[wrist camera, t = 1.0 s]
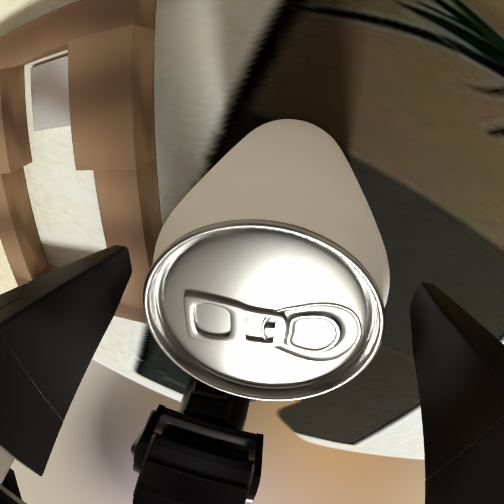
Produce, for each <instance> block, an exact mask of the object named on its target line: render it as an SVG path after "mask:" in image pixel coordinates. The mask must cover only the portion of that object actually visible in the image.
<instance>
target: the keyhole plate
mask: <svg viewBox="0 0 504 504" xmlns="http://www.w3.org/2000/svg"><path fill="white" fill-rule="evenodd" d="M155 9H156V0H80V1H77V2H75V3H72V4H69V5H67V6H64V7H62V8H60V9H57V10H55V11H53V12H50V13H48V14H46V15H44V16H41V17H39V18H37V19H35V20H33V21H31V22H29V23H27V24H25V25H23V26H21V27H19V28H18V29H16V30H14V31H12V32H10V33H8V34H7V35H5V36H3V37H1V38H0V239H1V242H2V245H3V248H4V250H5V253H6V256H7V259H8V262H9V264H10V267H11V269H12V272H13V275H14V277H15V280H16V282H17V284H18V287H19V286H21V285H23V284H25V283H26V284H27V283H28V282H30V281H32V280H34V279H36V278H38V277H41V276H43V275H45V274H47V273H50V272H52V271H54V270H56V269H59V268H56V267H51V266H48V264H47V261H46V258H45V255H44V252H43V248H42V245H41V242H40V238H39V235H38V231H37V228H36V224H35V220H34V217H33V213H32V209H31V204H30V200H29V196H28V191H27V186H26V181H25V176H24V171H23V166H25V165H27V164H29V163H31V162H32V159H31V153H30V146H29V138H28V129H27V120H26V108H25V92H24V65H26V64H28V63H31V62H33V61H36V60H39V59H41V58H44V57H47V56H50V55H52V54H55V53H58V52H61V51H65V50H68V56H65V57H62V58H59V59H56V60H53V61H50V62H47V63H44V64H41V65H38V66H35V67H33V68H31V96H32V111H33V122H34V131H38V130H44V129H50V128H56V127H63V126H70V125H71V133H72V142H73V151H74V159H75V166H76V170H93V171H94V179H95V186H96V192H97V198H98V204H99V210H100V216H101V221H102V226H103V231H104V236H105V241H106V246H107V248H109V247H111V246H114V245H121V246H126V247H127V248H128V250H129V255H130V260H131V265H132V274H131V277H130V279H129V282H128V284H127V286H126V289H125V291H124V293H123V296H122V298H121V301H120V303H119V305H118V308H117V310H116V312H115V314H114V316H117V317H121V318H125V319H130V320H134V321H138V322H143V323H147V321H146V318H145V314H144V308H143V289H144V284H145V280H146V277H147V274H148V272H149V270H150V268H151V266H152V264H153V258H154V251H155V246H156V242H157V239H158V236H159V234H160V231H161V229H162V225H161V215H160V205H159V193H158V181H157V167H156V150H155V129H154V85H153V70H154V28H155Z"/></svg>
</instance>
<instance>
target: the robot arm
mask: <svg viewBox="0 0 504 504" xmlns="http://www.w3.org/2000/svg"><path fill="white" fill-rule="evenodd" d="M131 274H132V265H131V260H130V255H129V250H128V248H127V247H126V246H121V245H114V246H111V247H109V248H106V249H104V250H101V251H99V252H97V253H94V254H92V255H89V256H87V257H84V258H82V259H80V260H77V261H75V262H73V263H70V264H68V265H66V266H63V267H61V268H59V269H56V270H54V271H52V272H50V273H47V274H45V275H43V276H41V277H38V278H36V279H34V280H32V281H30V282H28V283H27V284H26V283H25V284H23V285H21V286H19V287H17V288H14V289H12V290H10V291H8V292H5V293H3V294H1V295H0V504H26V503H25V502H24V501H22V498H21V496H20V492H19V488H18V485H17V481H16V478H15V474H14V471H13V470H12V469H11V468H10V467H11V465H12V463H13V461H14V459H16V460H17V461H19V462H20V463H21V464H23V465H24V466H26V467H27V468H29V469H30V470H32V471H33V472H35V473H36V474H38V475H39V476H42V475H43V472H44V470H45V467H46V464H47V461H48V459H49V456H50V454H51V451H52V448H53V446H54V443H55V441H56V438H57V436H58V433H59V430H60V428H61V426H62V423H63V420H64V418H65V416H66V414H67V411H68V409H69V407H70V404H71V402H72V400H73V398H74V396H75V393H76V391H77V389H78V387H79V385H80V382H81V380H82V378H83V376H84V374H85V372H86V369H87V368H88V365H89V363H90V361H91V359H92V357H93V355H94V353H95V351H96V349H97V347H98V345H99V343H100V341H101V339H102V337H103V335H104V334H105V332H106V330H107V328H108V326H109V324H110V322H111V320H112V318H113V316H114V314H115V312H116V310H117V308H118V305H119V303H120V301H121V298H122V296H123V293H124V291H125V289H126V286H127V284H128V282H129V279H130V277H131ZM410 319H411V330H412V343H413V354H414V361H415V367H416V374H417V381H418V388H419V396H420V404H421V414H422V424H423V436H424V453H425V479H426V481H425V504H504V345H503V344H502V343H501V342H500V341H499V340H498V339H497V338H496V337H495V336H494V335H492V334H491V333H490V332H489V331H488V330H487V329H486V328H485V327H484V326H482V325H481V324H480V323H479V322H478V321H477V320H476V319H474V318H473V317H472V316H471V315H470V314H469V313H467V312H466V311H465V310H464V309H463V308H462V307H460V306H459V305H458V304H457V303H456V302H454V301H453V300H452V299H451V298H450V297H448V296H447V295H446V294H445V293H444V292H442V291H441V290H440V289H439V288H437V287H436V286H435V285H434V284H432V283H424V282H422V283H420V284H419V285H418V287H417V290H416V292H415V295H414V297H413V299H412V302H411V305H410ZM189 376H190V379H189V382H188V384H187V387H186V390H185V392H184V395H183V398H182V401H181V403H180V406H179V409H178V411H174V410H171V409H168V408H166V407H165V406H163V405H159V406H158V408H157V410H154V411H152V412H151V414H150V416H149V419H148V421H147V423H146V425H145V427H144V429H143V430H142V432H141V433H140V435H139V436H138V437H137V439H136V440H135V442H134V443H133V445H132V447H131V452H132V454H133V456H134V466H133V470H134V471H135V472H138V473H139V477H138V480H137V484H136V487H135V490H134V495H133V496H134V498H133V504H250V503H251V502H252V501H253V499H254V497H255V495H256V492H257V489H258V486H259V482H260V477H261V466H262V451H263V434H258V433H257V434H254V433H249V432H245V431H243V430H244V426H245V421H246V416H247V411H248V406H249V402H250V401H251V402H253V401H256V399H250V398H244V397H240V396H236V395H232V394H229V393H226V392H223V391H220V390H218V389H215V388H213V387H211V386H209V385H207V384H205V383H203V382H201V381H199V380H197V379H196V378H194V377H192V376H191V375H189Z"/></svg>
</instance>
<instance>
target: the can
mask: <svg viewBox="0 0 504 504" xmlns="http://www.w3.org/2000/svg"><path fill="white" fill-rule="evenodd" d="M389 283H390V274H389V265H388V259H387V254H386V250H385V247H384V244H383V241H382V238H381V235H380V232H379V230H378V227H377V225H376V222H375V220H374V217H373V215H372V213H371V210H370V208H369V206H368V203H367V201H366V199H365V196H364V194H363V192H362V190H361V188H360V186H359V183H358V181H357V179H356V177H355V175H354V173H353V171H352V169H351V167H350V165H349V163H348V161H347V159H346V157H345V155H344V153H343V152H342V150H341V148H340V147H339V145H338V144H337V143H336V141H335V140H334V139H333V138H332V137H331V136H330V135H329V134H328V133H326V132H325V131H324V130H322V129H321V128H319V127H317V126H315V125H313V124H311V123H308V122H305V121H301V120H296V119H281V120H275V121H271V122H268V123H265V124H263V125H261V126H259V127H257V128H256V129H254V130H253V131H251V132H250V133H249V134H248V135H246V136H245V137H244V138H243V139H242V140H241V141H240V142H239V143H238V144H236V145H235V146H234V147H233V148H232V149H231V150H230V151H229V152H228V153H227V154H226V155H225V156H224V157H223V158H222V159H221V160H220V161H219V162H218V163H217V164H216V165H215V166H214V167H213V168H212V169H211V170H210V171H209V172H208V173H207V174H206V175H205V176H204V177H203V178H202V179H201V180H200V181H199V182H198V183H197V184H196V185H195V186H194V187H193V188H192V189H191V190H190V191H189V193H188V194H187V195H186V196H185V197H184V198H183V199H182V200H181V202H180V203H179V204H178V205H177V206H176V208H175V209H174V210H173V211H172V213H171V214H170V216H169V217H168V219H167V220H166V222H165V224H164V226H163V227H162V229H161V231H160V234H159V236H158V239H157V242H156V246H155V251H154V258H153V264H152V266H151V268H150V270H149V272H148V274H147V277H146V280H145V284H144V289H143V308H144V314H145V318H146V321H147V324H148V327H149V329H150V331H151V333H152V335H153V337H154V339H155V340H156V342H157V343H158V345H159V346H160V348H161V349H162V350H163V351H164V352H165V354H166V355H167V356H168V357H169V358H170V359H171V360H172V361H173V362H174V363H175V364H176V365H178V366H179V367H180V368H181V369H182V370H184V371H185V372H187V373H188V374H189V375H191V376H192V377H194V378H196V379H197V380H199V381H201V382H203V383H205V384H207V385H209V386H211V387H213V388H215V389H218V390H220V391H223V392H226V393H229V394H232V395H236V396H240V397H244V398H250V399H256V400H266V401H289V400H298V399H305V398H309V397H314V396H317V395H321V394H324V393H327V392H329V391H332V390H334V389H336V388H338V387H340V386H342V385H344V384H345V383H347V382H349V381H350V380H352V379H353V378H354V377H356V376H357V375H358V374H359V373H360V372H361V371H362V370H364V368H365V367H366V366H367V365H368V364H369V363H370V362H371V360H372V359H373V357H374V356H375V354H376V353H377V351H378V349H379V347H380V344H381V342H382V339H383V335H384V330H385V305H386V301H387V297H388V292H389Z"/></svg>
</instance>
